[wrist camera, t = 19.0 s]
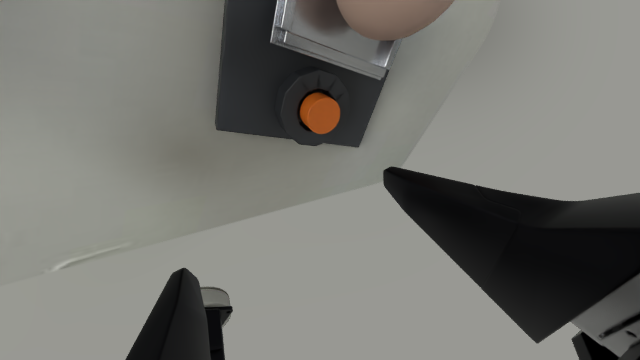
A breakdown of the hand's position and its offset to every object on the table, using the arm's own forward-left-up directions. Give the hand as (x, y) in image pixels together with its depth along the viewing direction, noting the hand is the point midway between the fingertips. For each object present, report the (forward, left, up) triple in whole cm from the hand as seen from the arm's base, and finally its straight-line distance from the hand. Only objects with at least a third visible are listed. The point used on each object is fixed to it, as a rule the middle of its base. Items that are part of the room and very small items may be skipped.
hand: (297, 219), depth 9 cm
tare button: (+4, -3, -9) cm, 10 cm away
